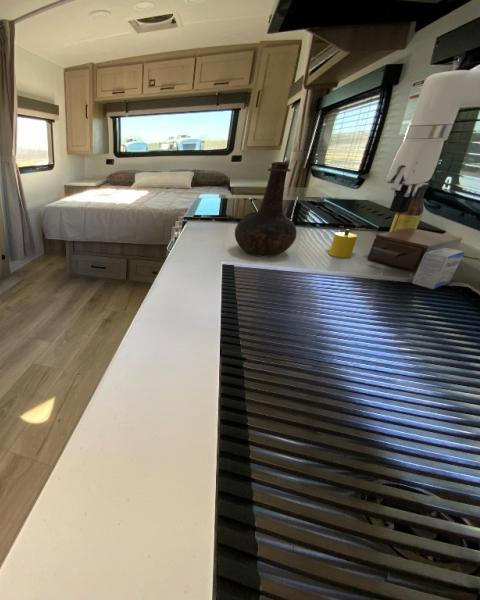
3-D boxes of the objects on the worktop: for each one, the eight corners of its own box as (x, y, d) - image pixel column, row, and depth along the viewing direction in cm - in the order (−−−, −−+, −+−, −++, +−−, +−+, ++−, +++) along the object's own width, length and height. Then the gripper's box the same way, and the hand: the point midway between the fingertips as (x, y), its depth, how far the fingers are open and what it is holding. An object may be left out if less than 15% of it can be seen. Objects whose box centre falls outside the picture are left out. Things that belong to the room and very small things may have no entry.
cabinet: (416, 272, 91) (428, 246, 88) (367, 258, 102) (376, 234, 98) (449, 263, 96) (462, 237, 93) (399, 250, 107) (409, 227, 103)
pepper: (354, 256, 104) (363, 230, 100) (342, 258, 102) (350, 233, 99) (337, 251, 109) (345, 226, 105) (324, 253, 107) (332, 228, 103)
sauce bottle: (414, 248, 108) (442, 184, 99) (394, 248, 109) (420, 185, 100) (397, 242, 114) (422, 181, 105) (379, 242, 114) (402, 182, 105)
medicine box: (432, 290, 82) (449, 257, 78) (410, 283, 85) (425, 251, 81) (449, 283, 84) (466, 251, 80) (427, 277, 88) (442, 246, 84)
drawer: (402, 272, 90) (411, 251, 87) (358, 259, 99) (365, 240, 97) (443, 261, 96) (453, 241, 93) (398, 249, 105) (405, 231, 102)
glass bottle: (260, 241, 120) (278, 158, 108) (304, 256, 105) (331, 162, 93) (220, 248, 116) (233, 162, 103) (259, 265, 101) (281, 166, 88)
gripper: (426, 132, 84) (399, 205, 92) (388, 136, 79) (363, 212, 88) (466, 131, 78) (433, 210, 86) (427, 135, 73) (396, 218, 81)
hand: (397, 211), depth 87 cm, fingers closed
